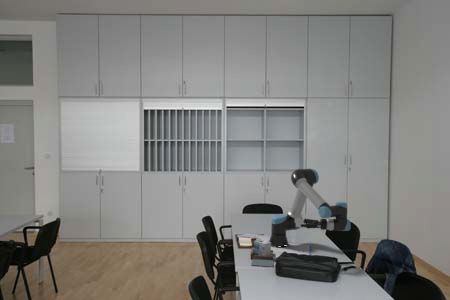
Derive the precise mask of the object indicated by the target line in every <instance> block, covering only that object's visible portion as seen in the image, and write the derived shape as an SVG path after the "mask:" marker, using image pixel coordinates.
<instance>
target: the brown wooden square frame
mask: <svg viewBox="0 0 450 300" xmlns="http://www.w3.org/2000/svg"><path fill="white" fill-rule="evenodd" d="M252 259H261V260H273V261H274V250H272V249H271V256H258V255H254V246H251V250H250V260H252Z"/></svg>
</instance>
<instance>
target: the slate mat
mask: <svg viewBox="0 0 450 300" xmlns="http://www.w3.org/2000/svg"><path fill="white" fill-rule="evenodd" d="M250 266H251V267H263V268H264V267H265V268H274V259H273V260H261V259H251V265H250Z"/></svg>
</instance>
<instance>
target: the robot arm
mask: <svg viewBox="0 0 450 300" xmlns="http://www.w3.org/2000/svg"><path fill="white" fill-rule="evenodd" d="M290 180H291V183H292V185H293V186H294V188H296V189H297V191H296V194H295V197H294V198H293V199H294V200H293V203H292V204H291V205H292V206H291V208H290V210H289V211H288V212H287V214H284V213H279V214H273V215H272V217H271V220H270V221H271V227H270V229H271V232H270V233H271V234H270V238H269V241H268V242H271V247H273V246H284V245H287V244H288V245H289V241H288V237H287V231H296V230H298V229H299V230H300V229H301V228H305V229H307V230H309V229H320V230H322V231H326V230H327V231H330V232H331V231H341V232H346V231H347V232H348V231H350V230H351V226H352V225H351V223H352V222H351V220H349V219H348V203H347V202H345V201H336V202H335V205H330V204H329V203H328V202H327V201H326V200H325V199H324V198H323V197H322V196H321V195H320V193H318V191H316V190H315V188H313V187H314V185H316V184H317V183H318V182H319V174H318V172H317V171H316V169H314V168H297V169H294V170H293V172H292V173H291V177H290ZM307 199H308V200H309V202H311V203H312V204H313V205H314V207H315V208H316V209H317V210H318V212H317V213H318V215H319V217H320V221H319V219H312V218H311V219H310V218H304V219H303V215H302V212H303V210H304V206H305V204H306V201H307Z"/></svg>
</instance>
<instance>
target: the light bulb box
mask: <svg viewBox="0 0 450 300" xmlns="http://www.w3.org/2000/svg"><path fill="white" fill-rule="evenodd" d="M253 247H254V255H258V256H271V250H272V246H271V242H269V241H267V240H263V239H257V240H254V241H253Z"/></svg>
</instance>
